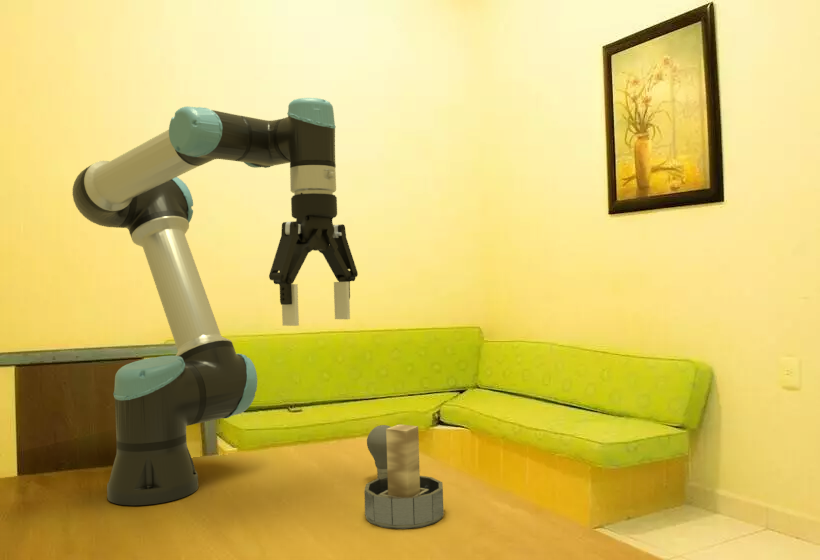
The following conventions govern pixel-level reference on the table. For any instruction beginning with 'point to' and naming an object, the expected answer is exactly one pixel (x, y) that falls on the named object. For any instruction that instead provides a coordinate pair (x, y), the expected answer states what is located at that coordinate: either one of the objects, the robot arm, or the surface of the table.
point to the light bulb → (379, 449)
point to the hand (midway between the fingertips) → (317, 322)
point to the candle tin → (404, 505)
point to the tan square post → (403, 460)
